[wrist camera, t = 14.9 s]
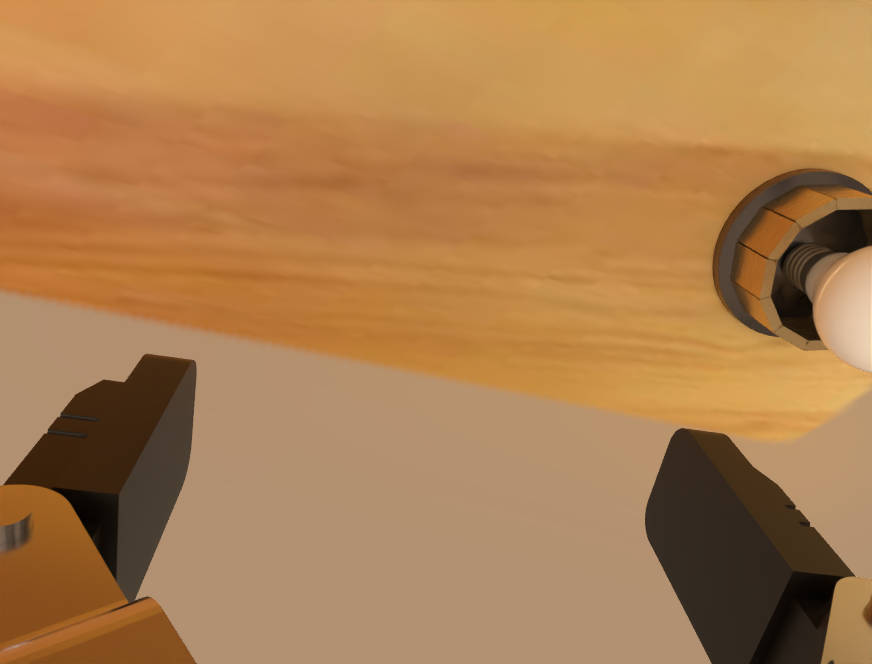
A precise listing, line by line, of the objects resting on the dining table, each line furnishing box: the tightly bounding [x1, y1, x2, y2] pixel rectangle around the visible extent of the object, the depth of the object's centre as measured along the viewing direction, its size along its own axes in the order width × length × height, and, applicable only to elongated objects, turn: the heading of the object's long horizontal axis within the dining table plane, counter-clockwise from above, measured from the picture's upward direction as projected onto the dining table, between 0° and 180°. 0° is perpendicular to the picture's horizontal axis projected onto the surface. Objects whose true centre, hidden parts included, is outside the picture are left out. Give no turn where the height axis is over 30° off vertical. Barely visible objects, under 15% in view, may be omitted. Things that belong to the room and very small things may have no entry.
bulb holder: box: [713, 169, 872, 351], centre depth 41 cm, size 10×10×4 cm
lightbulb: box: [783, 242, 872, 373], centre depth 38 cm, size 6×6×11 cm
